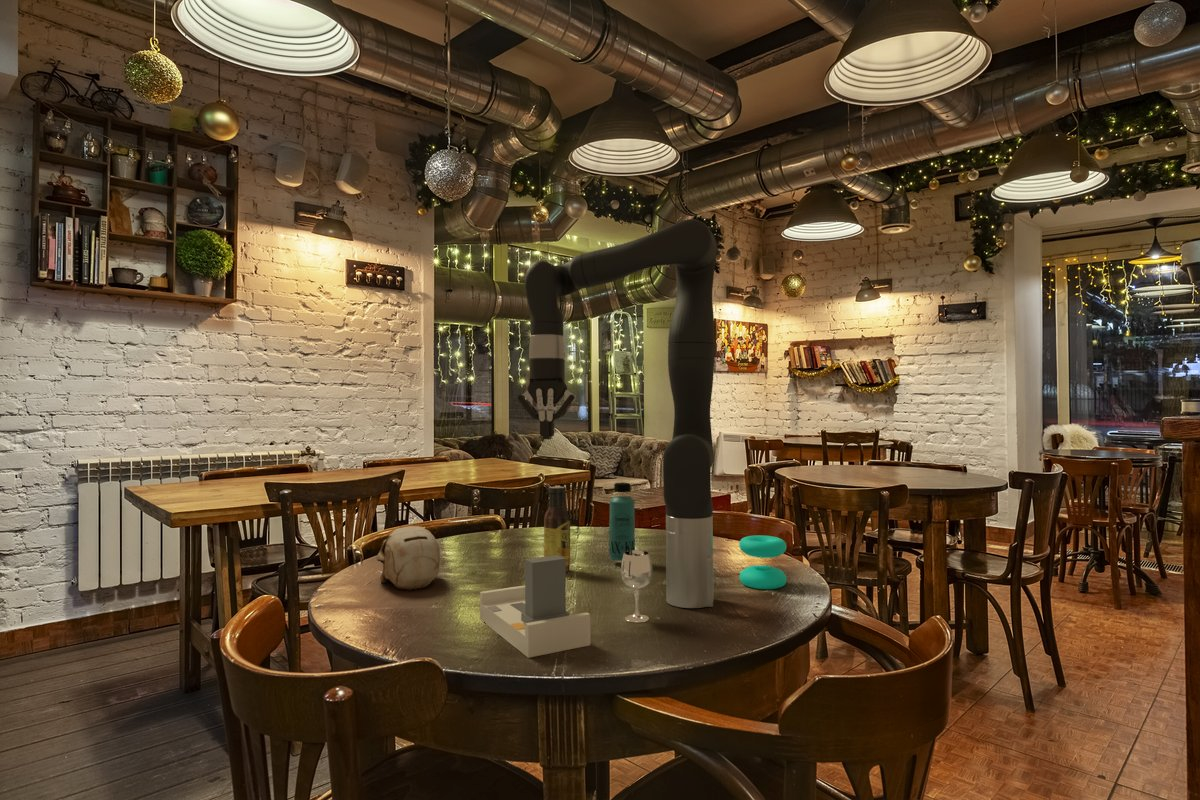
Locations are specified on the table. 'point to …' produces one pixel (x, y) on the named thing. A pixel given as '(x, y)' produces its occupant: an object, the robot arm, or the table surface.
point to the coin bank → (409, 558)
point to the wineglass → (636, 577)
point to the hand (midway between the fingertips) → (547, 438)
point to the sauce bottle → (557, 526)
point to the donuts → (763, 574)
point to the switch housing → (531, 624)
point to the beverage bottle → (621, 523)
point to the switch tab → (545, 589)
